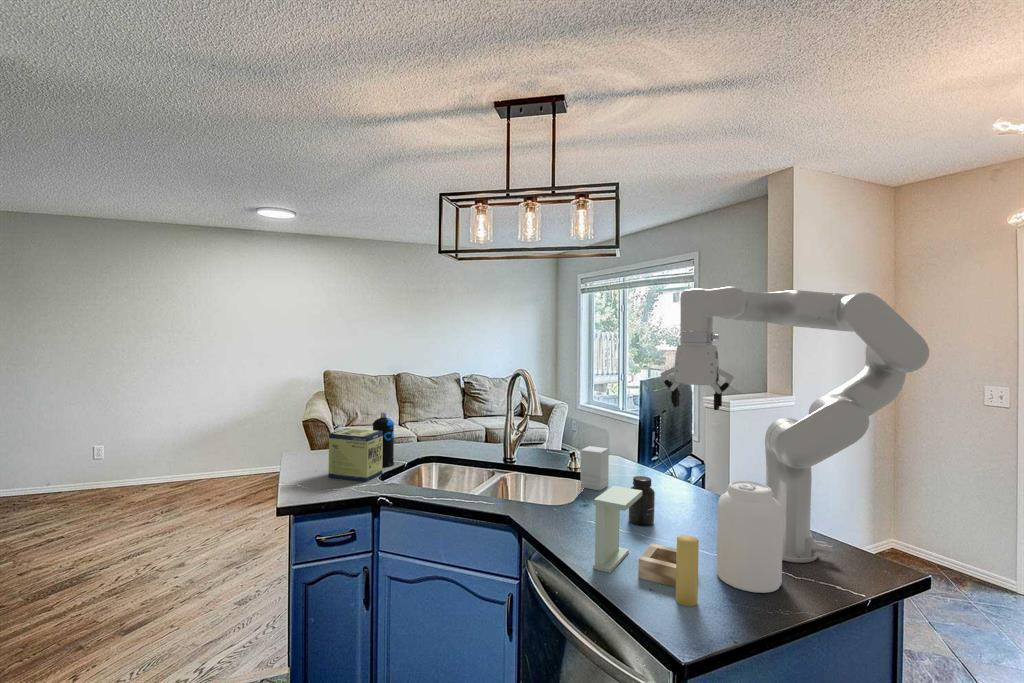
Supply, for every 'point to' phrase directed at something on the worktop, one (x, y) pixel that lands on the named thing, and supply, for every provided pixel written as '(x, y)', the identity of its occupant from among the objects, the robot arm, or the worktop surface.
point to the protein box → (355, 454)
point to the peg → (687, 570)
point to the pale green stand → (611, 526)
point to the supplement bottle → (643, 502)
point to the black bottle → (386, 438)
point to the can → (750, 537)
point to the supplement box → (594, 467)
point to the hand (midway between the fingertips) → (696, 407)
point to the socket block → (658, 565)
